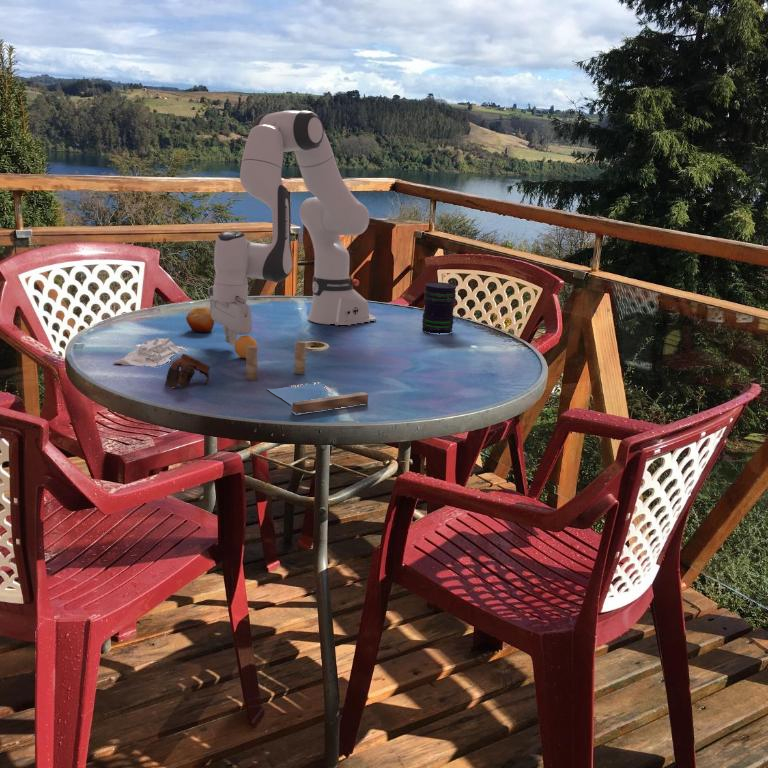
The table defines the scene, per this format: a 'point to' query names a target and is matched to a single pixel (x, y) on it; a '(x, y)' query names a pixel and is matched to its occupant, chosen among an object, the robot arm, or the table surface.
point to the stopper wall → (330, 402)
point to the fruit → (200, 320)
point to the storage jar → (438, 307)
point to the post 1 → (251, 362)
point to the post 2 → (300, 357)
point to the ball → (243, 345)
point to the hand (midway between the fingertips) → (230, 343)
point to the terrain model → (151, 353)
